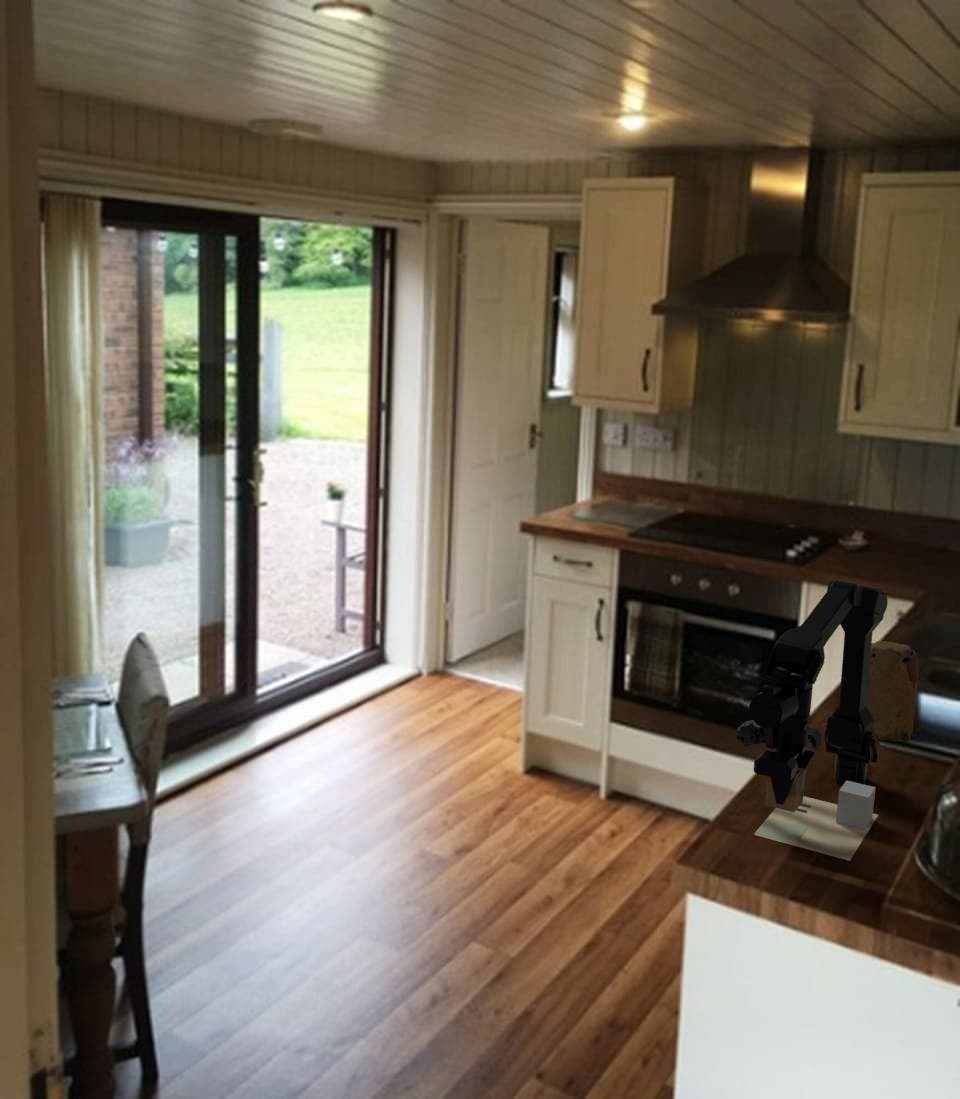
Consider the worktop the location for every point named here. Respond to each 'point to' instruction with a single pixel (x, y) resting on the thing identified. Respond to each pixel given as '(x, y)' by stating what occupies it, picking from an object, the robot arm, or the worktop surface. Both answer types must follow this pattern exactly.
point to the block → (892, 690)
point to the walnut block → (793, 797)
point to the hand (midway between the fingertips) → (784, 798)
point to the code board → (814, 829)
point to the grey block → (855, 805)
